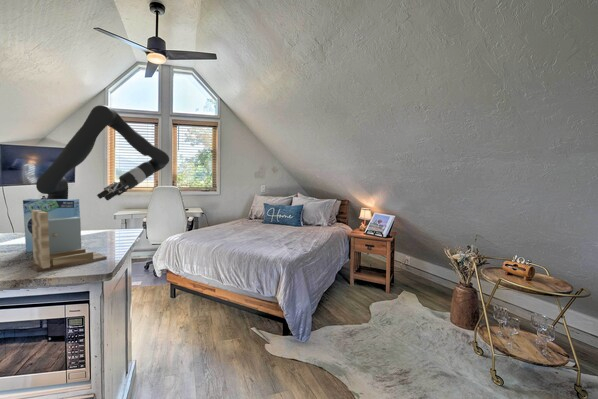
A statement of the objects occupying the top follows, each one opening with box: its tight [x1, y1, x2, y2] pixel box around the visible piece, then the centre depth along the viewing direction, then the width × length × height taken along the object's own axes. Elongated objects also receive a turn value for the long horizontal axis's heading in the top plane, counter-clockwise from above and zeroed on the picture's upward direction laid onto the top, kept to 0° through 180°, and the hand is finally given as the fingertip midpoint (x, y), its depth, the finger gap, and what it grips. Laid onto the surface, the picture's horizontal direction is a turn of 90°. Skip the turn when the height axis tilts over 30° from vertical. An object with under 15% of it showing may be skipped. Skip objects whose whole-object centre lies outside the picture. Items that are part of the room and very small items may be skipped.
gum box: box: [22, 198, 81, 253], centre depth 133 cm, size 20×5×23 cm, turn 103°
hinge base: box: [28, 210, 108, 273], centre depth 118 cm, size 11×22×21 cm, turn 145°
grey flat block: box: [48, 217, 82, 254], centre depth 125 cm, size 5×12×16 cm, turn 145°
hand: (101, 197), depth 135 cm, fingers open, 8 cm apart
